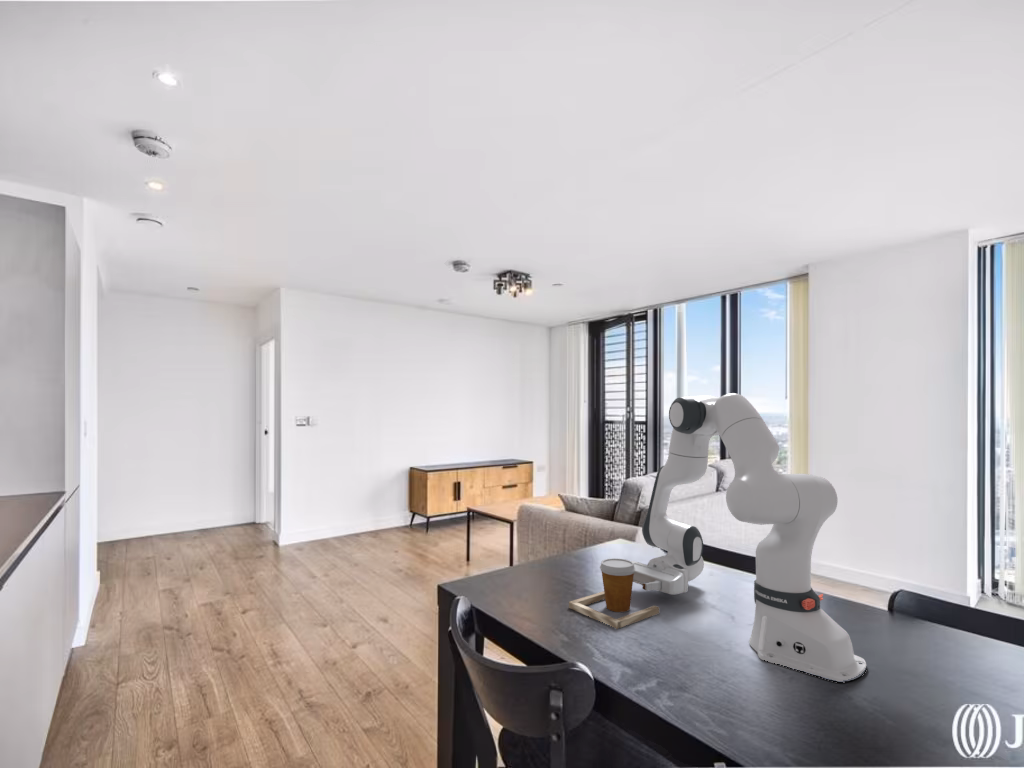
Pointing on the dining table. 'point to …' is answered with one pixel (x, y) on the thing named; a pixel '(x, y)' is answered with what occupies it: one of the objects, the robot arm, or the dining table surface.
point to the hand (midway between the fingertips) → (630, 582)
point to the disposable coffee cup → (617, 583)
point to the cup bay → (616, 623)
